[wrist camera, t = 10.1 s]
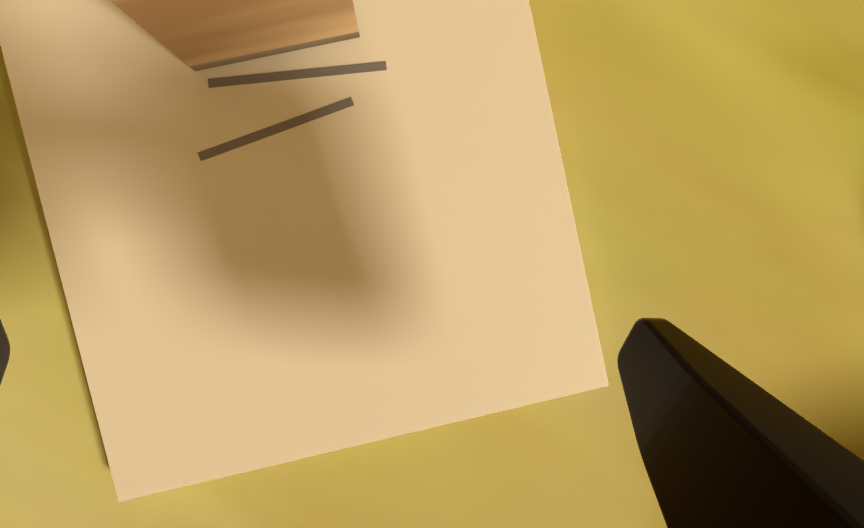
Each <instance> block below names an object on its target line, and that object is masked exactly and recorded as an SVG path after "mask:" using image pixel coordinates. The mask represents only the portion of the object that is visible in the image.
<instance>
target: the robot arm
mask: <svg viewBox="0 0 864 528" xmlns="http://www.w3.org/2000/svg"><path fill="white" fill-rule="evenodd" d="M9 356H10V344H9V340H8V337H7V335H6V332H5V330H4V327H3V325H2V322H1V320H0V385H1V382H2V379H3V376H4V373H5V370H6V367H7V364H8V361H9ZM618 369H619V373H620V377H621V381H622V385H623V389H624V393H625V397H626V401H627V405H628V408H629V412H630V416H631V420H632V424H633V428H634V432H635V436H636V440H637V443H638V446H639V450H640V453H641V456H642V459H643V462H644V465H645V468H646V471H647V473H648V476H649V479H650V482H651V484H652V487H653V490H654V492H655V495H656V498H657V500H658V503H659V506H660V509H661V511H662V514H663V517H664V519H665V522H666V525H667V528H864V461H863V460H861V459H860V458H859V457H857V456H856V455H854V454H853V453H852V452H850V451H849V450H847V449H846V448H845V447H843V446H842V445H841V444H839V443H838V442H836V441H835V440H834V439H832V438H831V437H829V436H828V435H827V434H825V433H824V432H822V431H821V430H820V429H818V428H817V427H815V426H814V425H813V424H811V423H810V422H808V421H807V420H806V419H804V418H803V417H801V416H800V415H799V414H797V413H796V412H794V411H793V410H792V409H790V408H789V407H787V406H786V405H785V404H783V403H782V402H781V401H779V400H778V399H776V398H775V397H774V396H772V395H771V394H769V393H768V392H767V391H765V390H764V389H762V388H761V387H760V386H758V385H757V384H755V383H754V382H753V381H751V380H750V379H748V378H747V377H746V376H744V375H743V374H741V373H740V372H739V371H737V370H736V369H734V368H733V367H732V366H730V365H729V364H728V363H726V362H725V361H723V360H722V359H721V358H719V357H718V356H716V355H715V354H714V353H712V352H711V351H709V350H708V349H707V348H705V347H704V346H702V345H701V344H700V343H698V342H697V341H695V340H694V339H693V338H691V337H690V336H688V335H687V334H686V333H684V332H683V331H682V330H680V329H679V328H677V327H676V326H675V325H673V324H672V323H670V322H669V321H667V320H665V319H661V318H641V319H639V320H638V321H636V322H635V324H634V326H633V327H632V329H631V331H630V333H629V335H628V337H627V338H626V340H625V342H624V344H623V346H622V348H621V349H620V352H619V355H618Z"/></svg>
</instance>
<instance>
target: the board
mask: <svg viewBox="0 0 864 528" xmlns="http://www.w3.org/2000/svg"><path fill="white" fill-rule="evenodd" d="M353 5H354V10H355V15H356V20H357V25H358V29H359V34H360V37H358V38H353V39H349V40H344V41H339V42H334V43H329V44H324V45H320V46H315V47H310V48H305V49H300V50H295V51H291V52H286V53H281V54H276V55H271V56H266V57H261V58H257V59H252V60H247V61H242V62H237V63H232V64H228V65H223V66H218V67H213V68H208V69H203V70H199V71H194V70H193V69H192V68H190V67H189V66H188V65H187V64H186V63H184V62H183V61H182V60H181V59H180V58H178V57H177V56H176V55H175V54H174V53H172V52H171V51H170V50H169V49H168V48H166V47H165V46H164V45H163V44H162V43H160V42H159V41H158V40H157V39H156V38H154V37H153V36H152V35H151V34H150V33H148V32H147V31H146V30H145V29H144V28H142V27H141V26H140V25H139V24H138V23H136V22H135V21H134V20H133V19H132V18H131V17H129V16H128V15H127V14H126V13H125V12H123V11H122V10H121V9H120V8H119V7H117V6H116V5H115V4H114V3H113V2H111V1H110V0H0V46H1V49H2V53H3V57H4V61H5V65H6V69H7V73H8V76H9V80H10V84H11V88H12V92H13V96H14V100H15V103H16V107H17V111H18V115H19V119H20V123H21V127H22V131H23V134H24V138H25V142H26V146H27V150H28V154H29V158H30V161H31V165H32V169H33V173H34V177H35V181H36V185H37V188H38V192H39V196H40V200H41V204H42V208H43V212H44V216H45V219H46V223H47V227H48V231H49V235H50V239H51V243H52V246H53V250H54V254H55V258H56V262H57V266H58V270H59V273H60V277H61V281H62V285H63V289H64V293H65V297H66V301H67V304H68V308H69V312H70V316H71V320H72V324H73V328H74V331H75V335H76V339H77V343H78V347H79V351H80V355H81V358H82V362H83V366H84V370H85V374H86V378H87V382H88V386H89V389H90V393H91V397H92V401H93V405H94V409H95V413H96V416H97V420H98V424H99V428H100V432H101V436H102V440H103V443H104V447H105V451H106V455H107V459H108V463H109V467H110V471H111V474H112V478H113V482H114V486H115V490H116V494H117V498H118V501H119V502H121V501H125V500H130V499H134V498H138V497H142V496H146V495H151V494H155V493H159V492H163V491H167V490H172V489H176V488H180V487H184V486H189V485H193V484H197V483H201V482H205V481H210V480H214V479H218V478H222V477H226V476H231V475H235V474H239V473H243V472H247V471H252V470H256V469H260V468H264V467H269V466H273V465H277V464H281V463H285V462H290V461H294V460H298V459H302V458H306V457H311V456H315V455H319V454H323V453H327V452H332V451H336V450H340V449H344V448H348V447H353V446H357V445H361V444H365V443H370V442H374V441H378V440H382V439H386V438H391V437H395V436H399V435H403V434H407V433H412V432H416V431H420V430H424V429H428V428H433V427H437V426H441V425H445V424H450V423H454V422H458V421H462V420H466V419H471V418H475V417H479V416H483V415H487V414H492V413H496V412H500V411H504V410H508V409H513V408H517V407H521V406H525V405H529V404H534V403H538V402H542V401H546V400H551V399H555V398H559V397H563V396H567V395H572V394H576V393H580V392H584V391H588V390H593V389H597V388H601V387H605V386H609V384H608V379H607V374H606V369H605V364H604V360H603V355H602V350H601V345H600V340H599V335H598V331H597V326H596V321H595V316H594V311H593V307H592V302H591V297H590V292H589V287H588V283H587V278H586V273H585V268H584V263H583V258H582V254H581V249H580V244H579V239H578V234H577V230H576V225H575V220H574V215H573V210H572V206H571V201H570V196H569V191H568V186H567V181H566V177H565V172H564V167H563V162H562V157H561V153H560V148H559V143H558V138H557V133H556V129H555V124H554V119H553V114H552V109H551V104H550V100H549V95H548V90H547V85H546V80H545V76H544V71H543V66H542V61H541V56H540V52H539V47H538V42H537V37H536V32H535V27H534V23H533V18H532V13H531V8H530V3H529V0H353Z"/></svg>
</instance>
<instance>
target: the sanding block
mask: <svg viewBox="0 0 864 528" xmlns="http://www.w3.org/2000/svg"><path fill="white" fill-rule="evenodd" d="M110 1H111V2H113V3H114V4H115V5H116V6H117V7H119V8H120V9H121V10H122V11H123V12H125V13H126V14H127V15H128V16H129V17H131V18H132V19H133V20H134V21H135V22H136V23H138V24H139V25H140V26H141V27H142V28H144V29H145V30H146V31H147V32H148V33H150V34H151V35H152V36H153V37H154V38H156V39H157V40H158V41H159V42H160V43H162V44H163V45H164V46H165V47H166V48H168V49H169V50H170V51H171V52H172V53H174V54H175V55H176V56H177V57H178V58H180V59H181V60H182V61H183V62H184V63H186V64H187V65H188V66H189V67H190V68H192V69H193V70H194V71H199V70H203V69H208V68H213V67H218V66H223V65H228V64H232V63H237V62H242V61H247V60H252V59H257V58H261V57H266V56H271V55H276V54H281V53H286V52H291V51H295V50H300V49H305V48H310V47H315V46H320V45H324V44H329V43H334V42H339V41H344V40H349V39H353V38H358V37H360V34H359V29H358V25H357V20H356V15H355V10H354V5H353V0H110Z"/></svg>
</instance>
